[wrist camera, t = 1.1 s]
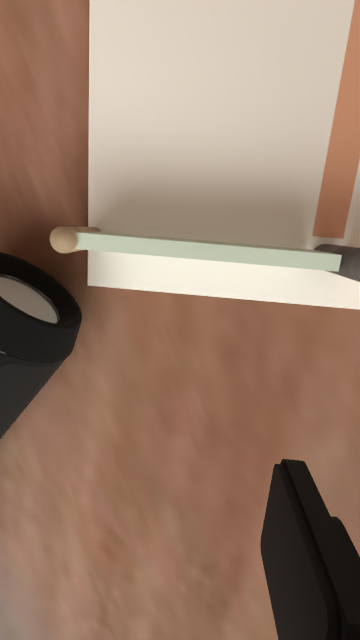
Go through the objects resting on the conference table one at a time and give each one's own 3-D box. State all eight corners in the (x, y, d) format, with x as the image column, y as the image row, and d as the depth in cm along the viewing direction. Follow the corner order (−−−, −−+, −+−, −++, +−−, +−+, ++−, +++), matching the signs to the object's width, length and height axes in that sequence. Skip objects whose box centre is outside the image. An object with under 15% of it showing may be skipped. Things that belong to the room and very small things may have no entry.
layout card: (649, -124, 20) (657, -131, 20) (494, 320, 28) (498, 321, 27) (92, -158, 21) (90, -164, 21) (88, 284, 28) (87, 285, 28)
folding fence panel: (310, 245, 26) (345, 250, 20) (306, 265, 26) (340, 277, 20) (83, 226, 26) (49, 225, 20) (83, 246, 27) (50, 252, 21)
